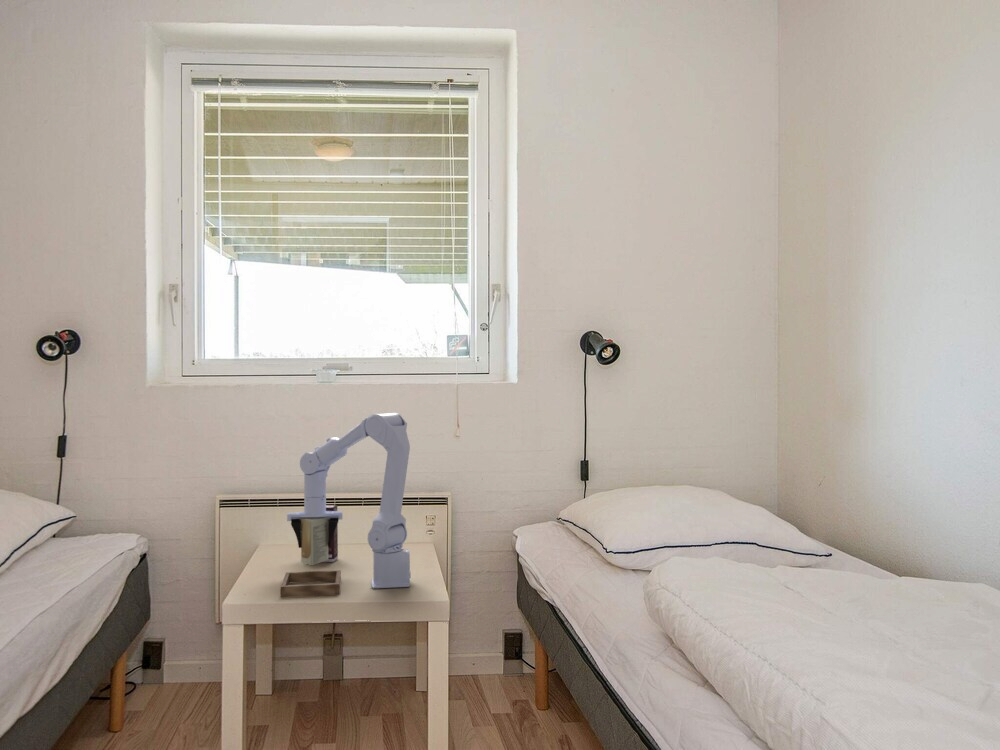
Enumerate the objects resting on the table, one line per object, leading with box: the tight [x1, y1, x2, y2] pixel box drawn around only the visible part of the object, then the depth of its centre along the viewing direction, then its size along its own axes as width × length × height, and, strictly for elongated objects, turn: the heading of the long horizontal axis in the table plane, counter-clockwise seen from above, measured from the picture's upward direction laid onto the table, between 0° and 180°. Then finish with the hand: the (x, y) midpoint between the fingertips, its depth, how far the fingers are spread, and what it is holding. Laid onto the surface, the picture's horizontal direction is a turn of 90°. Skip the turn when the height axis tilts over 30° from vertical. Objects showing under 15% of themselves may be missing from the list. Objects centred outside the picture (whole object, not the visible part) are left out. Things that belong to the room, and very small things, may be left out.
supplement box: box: [322, 504, 339, 563], centre depth 224 cm, size 9×5×16 cm, turn 88°
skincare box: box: [300, 517, 328, 566], centre depth 208 cm, size 6×4×12 cm
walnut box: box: [280, 569, 342, 598], centre depth 194 cm, size 14×14×2 cm
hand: (315, 546), depth 208 cm, fingers closed on skincare box, 7 cm apart
